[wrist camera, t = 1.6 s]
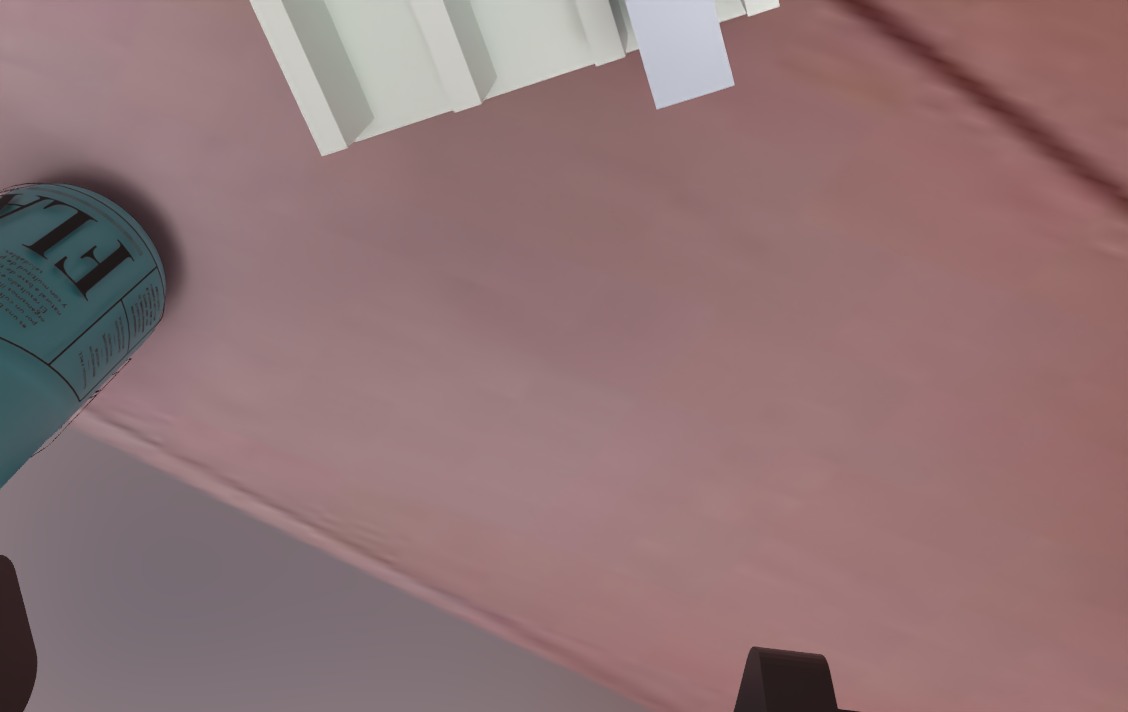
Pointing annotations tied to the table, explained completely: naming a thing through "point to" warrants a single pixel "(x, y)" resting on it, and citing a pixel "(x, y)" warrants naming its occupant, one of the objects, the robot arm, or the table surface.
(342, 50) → the rack
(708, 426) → the table surface
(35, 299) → the beverage bottle
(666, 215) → the table surface
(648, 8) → the plate
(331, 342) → the table surface
